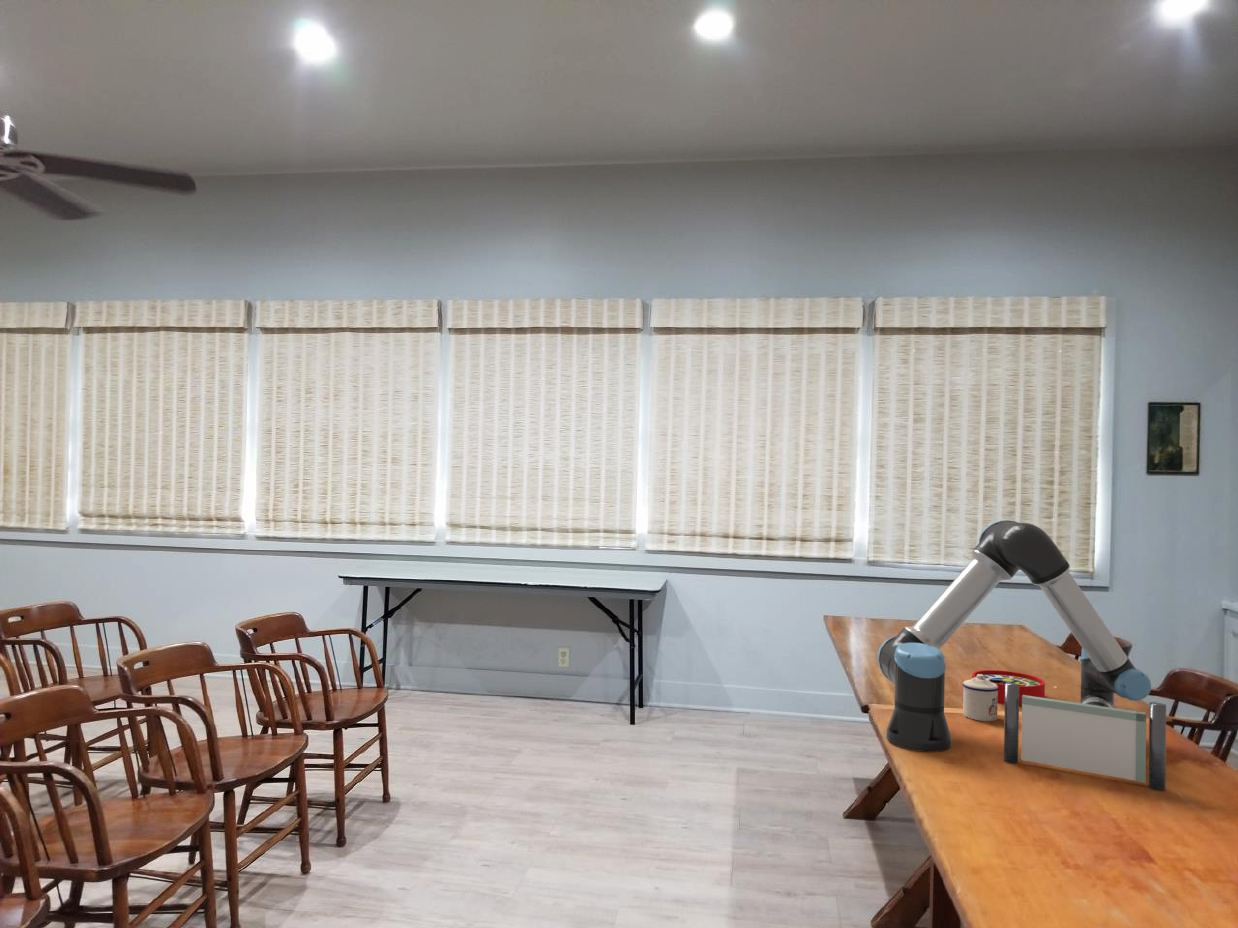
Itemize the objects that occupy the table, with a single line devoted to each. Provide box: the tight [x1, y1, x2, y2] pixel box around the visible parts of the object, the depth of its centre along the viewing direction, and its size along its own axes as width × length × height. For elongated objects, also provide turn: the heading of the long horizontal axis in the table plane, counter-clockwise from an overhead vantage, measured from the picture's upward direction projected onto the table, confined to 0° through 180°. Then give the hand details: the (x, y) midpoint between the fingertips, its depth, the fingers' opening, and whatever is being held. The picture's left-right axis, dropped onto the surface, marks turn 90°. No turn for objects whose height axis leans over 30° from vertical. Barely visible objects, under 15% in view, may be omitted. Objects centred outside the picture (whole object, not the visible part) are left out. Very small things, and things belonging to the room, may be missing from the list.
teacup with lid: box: [962, 674, 999, 722], centre depth 223 cm, size 12×9×12 cm
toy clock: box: [971, 669, 1046, 707], centre depth 244 cm, size 20×6×20 cm
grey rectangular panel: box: [1020, 695, 1147, 784], centre depth 179 cm, size 24×2×15 cm, turn 59°
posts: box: [1003, 682, 1167, 792], centre depth 179 cm, size 31×3×18 cm, turn 59°
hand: (1096, 741), depth 181 cm, fingers closed
